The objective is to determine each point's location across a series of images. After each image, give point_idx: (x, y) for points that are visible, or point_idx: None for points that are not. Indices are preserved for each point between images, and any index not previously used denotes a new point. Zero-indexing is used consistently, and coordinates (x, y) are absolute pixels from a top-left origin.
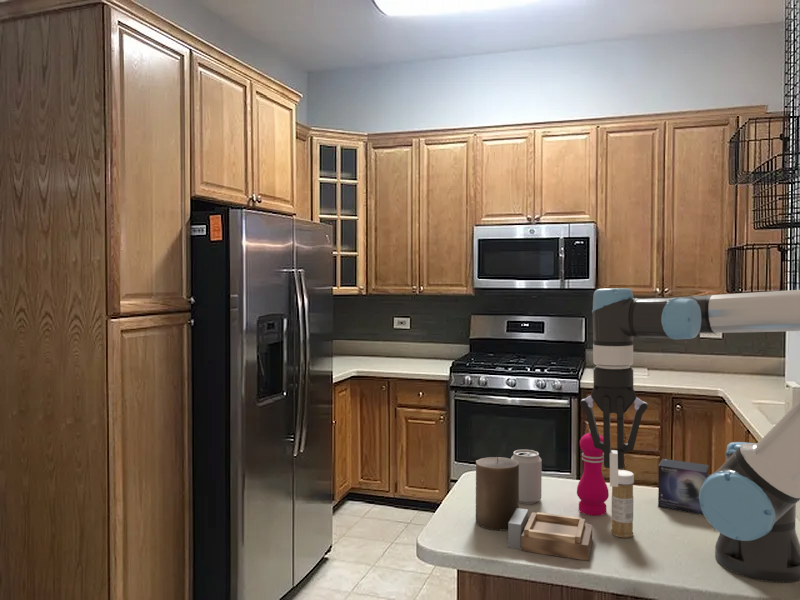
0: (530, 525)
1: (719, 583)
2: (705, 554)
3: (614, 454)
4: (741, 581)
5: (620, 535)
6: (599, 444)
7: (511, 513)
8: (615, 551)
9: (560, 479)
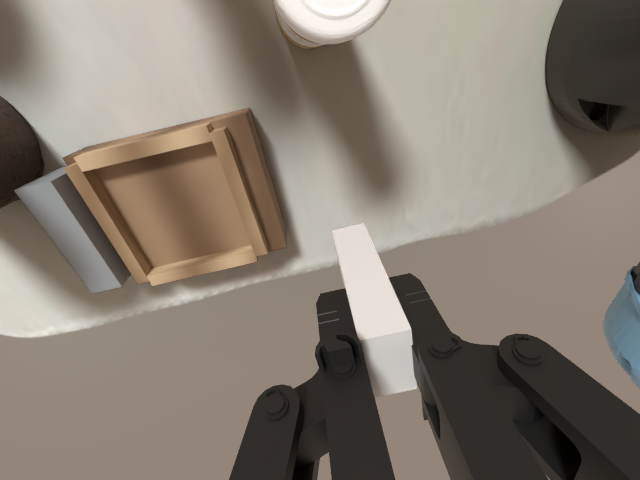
0: (132, 256)
1: (524, 183)
2: (527, 34)
3: (397, 389)
4: (568, 151)
5: (311, 47)
6: (315, 463)
7: (9, 181)
8: (321, 149)
9: None
